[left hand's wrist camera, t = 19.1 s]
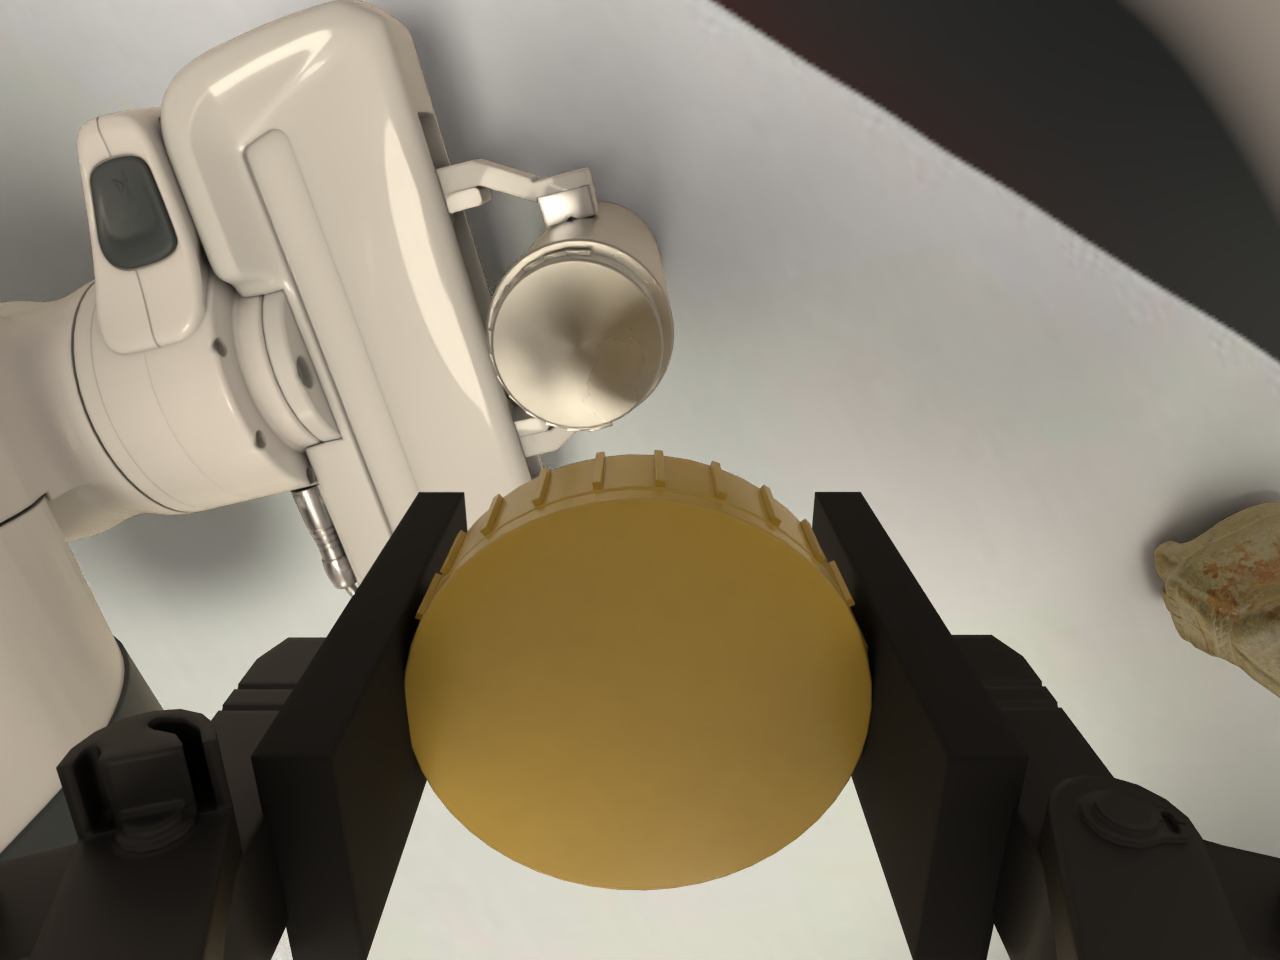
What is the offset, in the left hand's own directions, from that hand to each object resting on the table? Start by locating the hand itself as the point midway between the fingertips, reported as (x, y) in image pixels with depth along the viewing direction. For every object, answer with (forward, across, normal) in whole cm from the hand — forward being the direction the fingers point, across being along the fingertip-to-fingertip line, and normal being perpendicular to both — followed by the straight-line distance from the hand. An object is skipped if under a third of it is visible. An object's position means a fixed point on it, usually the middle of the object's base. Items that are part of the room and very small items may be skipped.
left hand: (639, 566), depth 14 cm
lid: (-4, 0, 0) cm, 4 cm away
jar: (+23, +2, -2) cm, 23 cm away
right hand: (+17, +1, -2) cm, 17 cm away
